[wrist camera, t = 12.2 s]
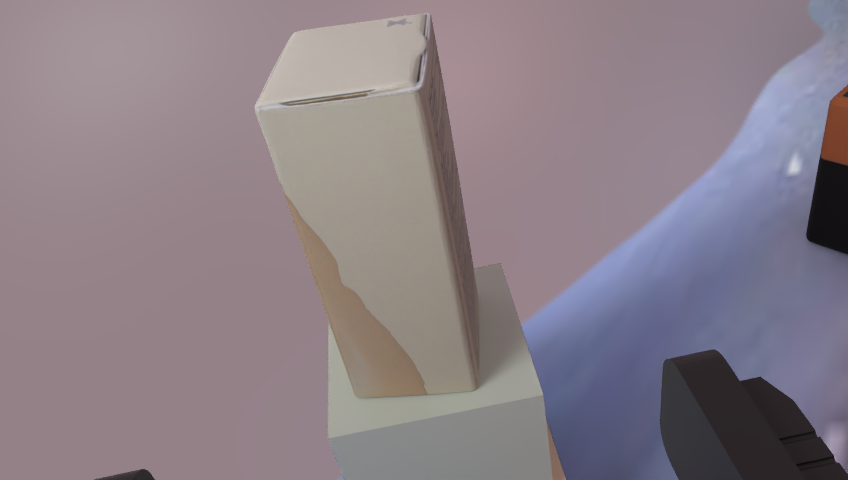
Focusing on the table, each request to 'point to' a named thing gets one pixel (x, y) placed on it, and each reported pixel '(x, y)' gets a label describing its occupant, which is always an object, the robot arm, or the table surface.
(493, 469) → the tower top
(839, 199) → the battery
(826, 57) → the table surface
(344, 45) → the box
